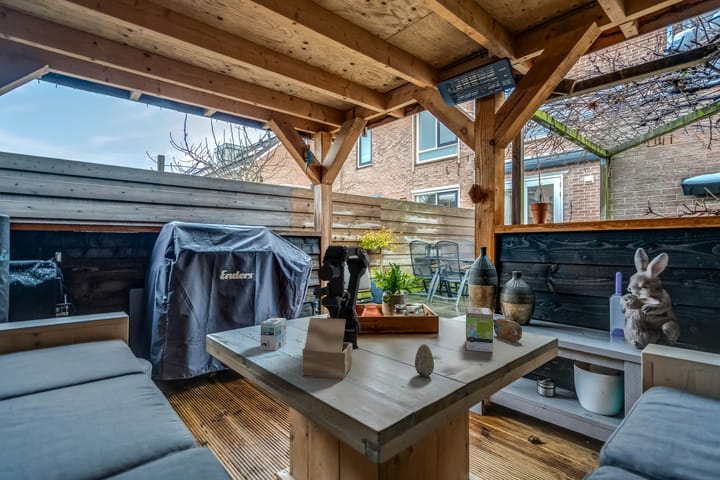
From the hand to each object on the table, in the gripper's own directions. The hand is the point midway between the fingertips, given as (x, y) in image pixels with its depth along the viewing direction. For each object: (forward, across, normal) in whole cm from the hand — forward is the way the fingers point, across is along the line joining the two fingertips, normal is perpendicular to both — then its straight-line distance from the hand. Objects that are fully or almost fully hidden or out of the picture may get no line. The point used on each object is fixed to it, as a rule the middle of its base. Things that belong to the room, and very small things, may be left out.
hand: (336, 321), depth 128 cm
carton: (+13, +15, +1) cm, 20 cm away
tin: (+13, -39, +67) cm, 78 cm away
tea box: (+13, -25, +53) cm, 60 cm away
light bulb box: (+13, -8, -29) cm, 33 cm away
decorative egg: (+13, +12, +32) cm, 37 cm away
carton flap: (+1, +18, +1) cm, 18 cm away
